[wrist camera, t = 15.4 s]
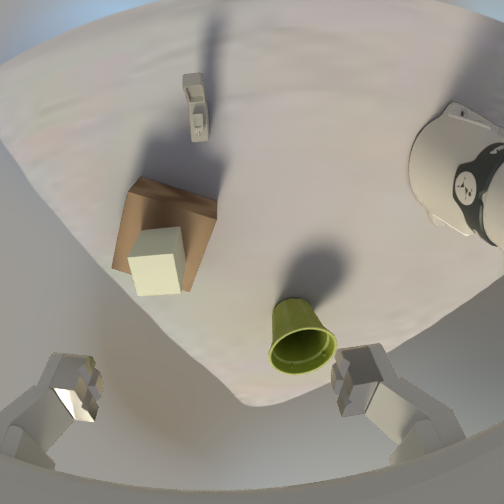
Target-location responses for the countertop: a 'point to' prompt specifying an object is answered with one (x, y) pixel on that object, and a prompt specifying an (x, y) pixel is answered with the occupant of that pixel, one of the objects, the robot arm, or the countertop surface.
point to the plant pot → (299, 339)
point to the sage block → (158, 261)
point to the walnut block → (166, 222)
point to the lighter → (197, 106)
